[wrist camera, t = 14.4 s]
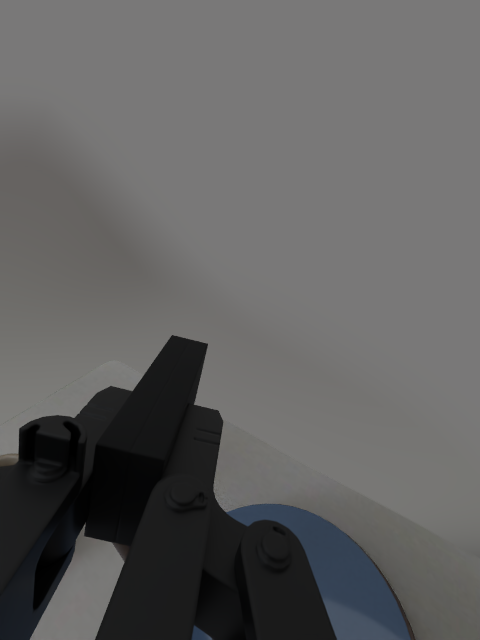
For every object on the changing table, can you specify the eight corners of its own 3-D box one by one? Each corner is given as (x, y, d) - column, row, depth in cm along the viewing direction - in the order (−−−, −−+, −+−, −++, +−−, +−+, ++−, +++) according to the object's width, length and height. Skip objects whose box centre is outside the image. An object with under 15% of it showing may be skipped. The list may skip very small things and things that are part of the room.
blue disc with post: (411, 539, 32) (416, 409, 25) (455, 1151, 13) (537, 1384, 6) (203, 490, 42) (162, 386, 35) (51, 797, 23) (-114, 712, 15)
